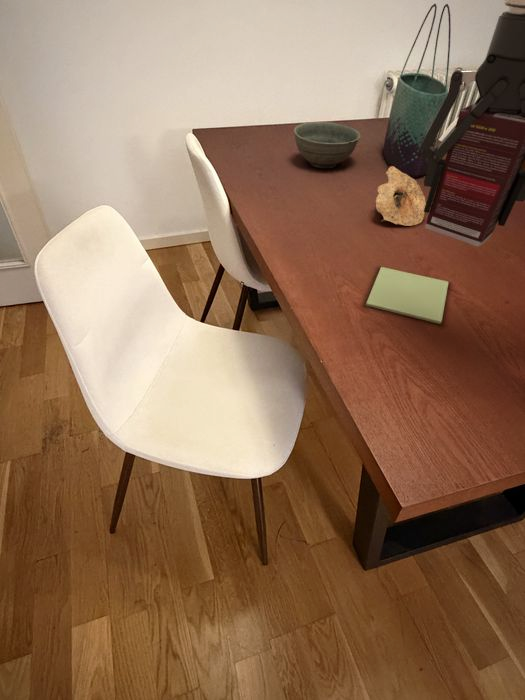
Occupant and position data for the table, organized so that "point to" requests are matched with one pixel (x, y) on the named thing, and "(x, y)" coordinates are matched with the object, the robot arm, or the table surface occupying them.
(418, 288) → the mat
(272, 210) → the table surface
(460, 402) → the table surface
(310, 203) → the table surface
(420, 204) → the beige irregular lump
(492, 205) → the supplement box
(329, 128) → the bowl
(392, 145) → the green tote bag
